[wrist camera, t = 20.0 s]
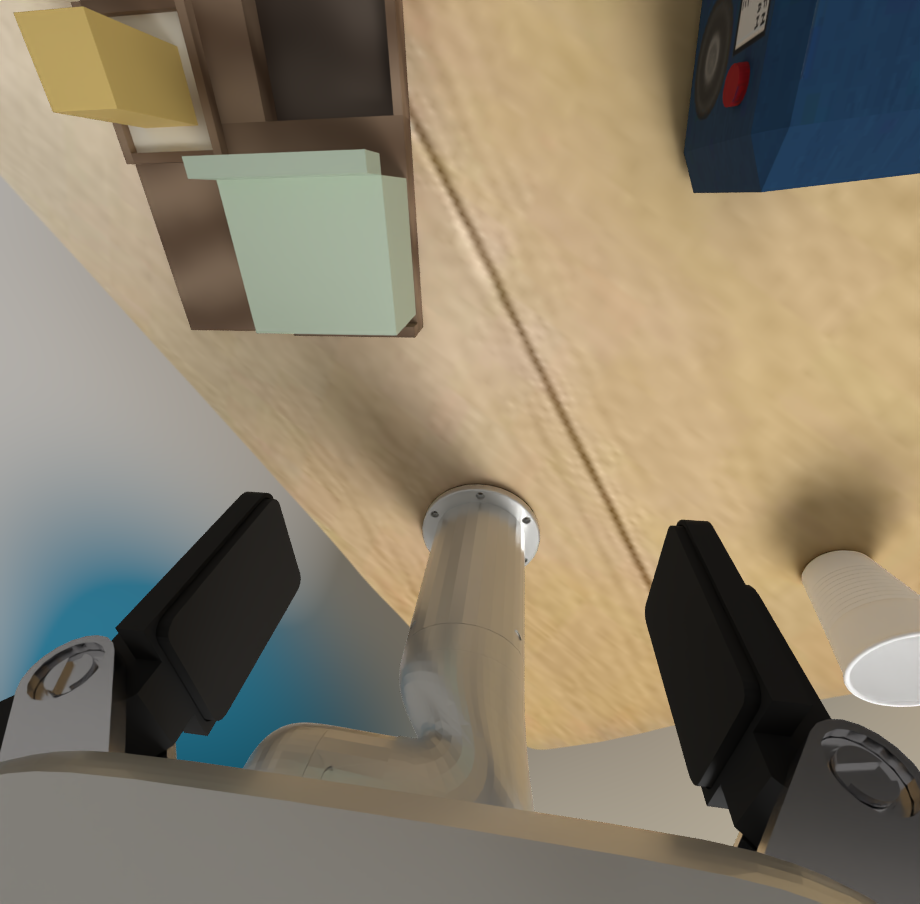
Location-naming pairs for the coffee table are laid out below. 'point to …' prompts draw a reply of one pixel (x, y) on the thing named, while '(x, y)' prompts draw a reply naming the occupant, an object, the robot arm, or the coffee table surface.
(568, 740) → the coffee table surface
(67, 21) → the block
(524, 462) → the coffee table surface
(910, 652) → the cup
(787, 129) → the radio
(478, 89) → the coffee table surface
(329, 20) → the puzzle board
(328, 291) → the cover
